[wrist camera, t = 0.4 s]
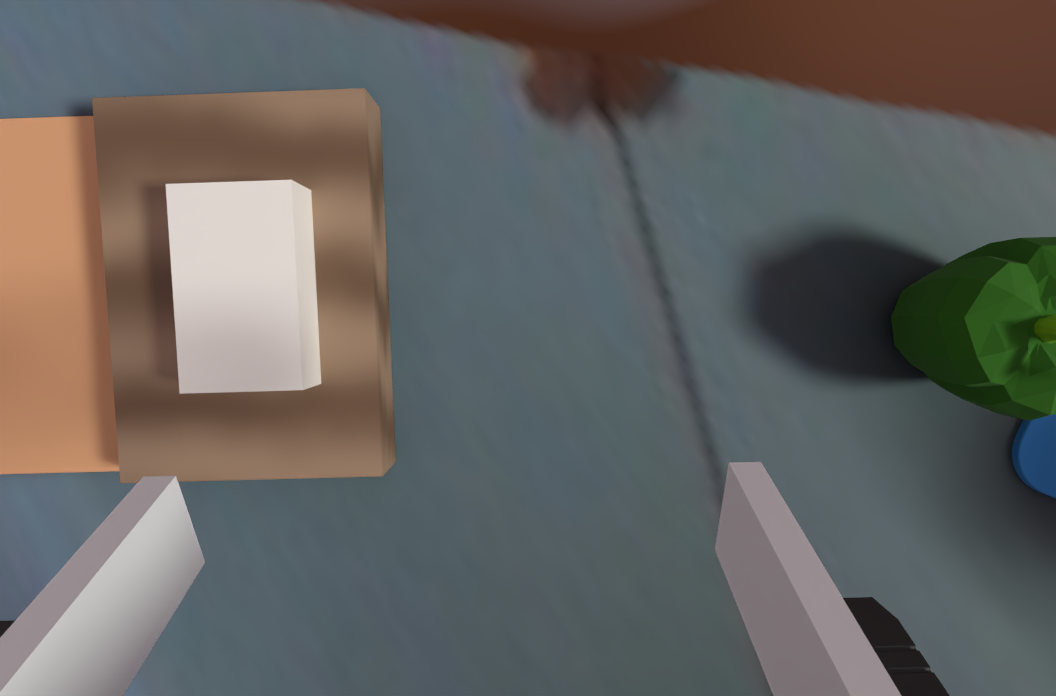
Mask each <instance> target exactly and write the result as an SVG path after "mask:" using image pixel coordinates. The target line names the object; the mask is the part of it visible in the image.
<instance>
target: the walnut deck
mask: <svg viewBox="0 0 1056 696" xmlns="http://www.w3.org/2000/svg"><path fill="white" fill-rule="evenodd" d="M92 106H93V119H94V133H95V146H96V160H97V173H98V187H99V200H100V214H101V227H102V241H103V255H104V268H105V282H106V295H107V309H108V322H109V336H110V349H111V363H112V376H113V390H114V403H115V417H116V431H117V444H118V458H119V471H120V483H138V482H139V481H140V480H141V479H142V477H145V476H176V478H177V481H178V482H183V481H221V480H259V479H297V478H335V477H373V476H383V475H384V474H385V473H386V472H387V471H388V470H389V469H390V468H391V467H392V466H393V464H394V463H395V462H396V455H395V433H394V410H393V388H392V365H391V343H390V320H389V298H388V275H387V253H386V230H385V208H384V186H383V163H382V141H381V118H380V107H379V106H378V105H377V104H376V102H375V101H374V100H373V98H372V97H371V96H370V94H369V93H368V92H367V91H366V89H365V88H361V89H333V90H305V91H277V92H249V93H221V94H193V95H165V96H137V97H109V98H92ZM268 180H293V181H295V182H297V183H299V184H300V185H302V186H304V187H306V188H308V189H310V190H311V196H312V215H313V234H314V253H315V273H316V292H317V311H318V330H319V350H320V369H321V384H319V385H316V386H313V387H311V388H308V389H305V390H291V391H256V392H221V393H185V394H180V393H179V378H178V363H177V348H176V333H175V318H174V303H173V288H172V273H171V258H170V243H169V228H168V214H167V199H166V184H178V183H208V182H238V181H268Z"/></svg>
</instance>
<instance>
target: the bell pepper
mask: <svg viewBox="0 0 1056 696" xmlns="http://www.w3.org/2000/svg"><path fill="white" fill-rule="evenodd" d="M891 322H892V330H893V338H894V344H895V347H896V348H897V349H898V350H899V351H900V352H901V354H902V355H903V356H904V357H905V358H906V359H907V361H908V362H909V363H910V364H911V365H913V366H914V367H916V368H917V369H919V370H921V371H922V372H924V373H925V374H926V376H927V378H929V379H930V380H931V381H933V382H934V383H936V384H937V385H939V386H940V387H942V388H944V389H945V390H947V391H949V392H951V393H953V394H954V395H956V396H958V397H960V398H962V399H964V400H966V401H969V402H971V403H974V404H976V405H978V406H981V407H983V408H986V409H988V410H991V411H993V412H996V413H999V414H1003V415H1007V416H1011V417H1015V418H1019V419H1023V420H1027V421H1030V420H1034V419H1038V418H1042V417H1046V416H1050V415H1054V414H1056V237H1041V238H1017V239H1012V240H1006V241H1000V242H994V243H990V244H987V245H985V246H983V247H981V248H978V249H976V250H974V251H972V252H969V253H967V254H965V255H963V256H961V257H959V258H958V259H956V260H954V261H952V262H950V263H948V264H947V265H945V266H943V267H941V268H939V269H937V270H935V271H933V272H931V273H929V274H928V275H926V276H924V277H923V278H921V279H919V280H918V281H916V282H915V283H913V284H912V285H910V286H908V287H907V288H905V289H904V290H902V292H901V294H900V296H899V299H898V301H897V304H896V306H895V308H894V311H893V313H892V316H891Z"/></svg>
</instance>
